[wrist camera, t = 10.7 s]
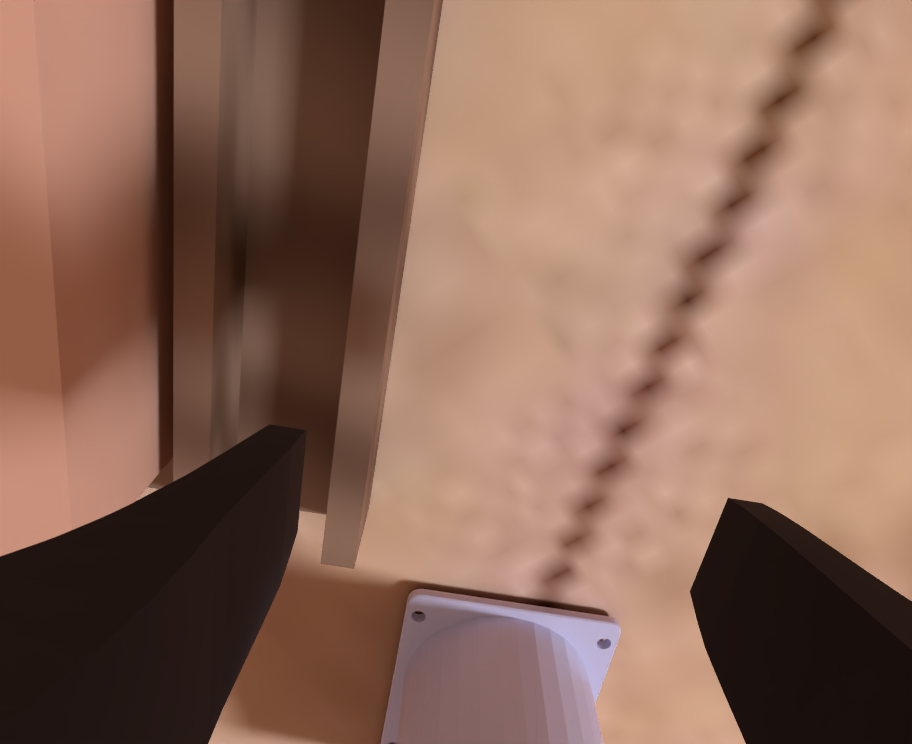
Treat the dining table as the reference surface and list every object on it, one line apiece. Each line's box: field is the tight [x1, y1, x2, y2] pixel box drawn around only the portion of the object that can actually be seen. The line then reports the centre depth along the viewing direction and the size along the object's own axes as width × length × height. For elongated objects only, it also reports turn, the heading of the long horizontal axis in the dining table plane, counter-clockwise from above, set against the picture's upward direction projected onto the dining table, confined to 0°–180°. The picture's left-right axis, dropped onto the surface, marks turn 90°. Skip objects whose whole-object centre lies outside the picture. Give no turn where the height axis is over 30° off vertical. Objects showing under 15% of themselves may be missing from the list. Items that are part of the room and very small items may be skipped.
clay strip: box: [0, 0, 174, 556], centre depth 14 cm, size 16×2×6 cm, turn 170°
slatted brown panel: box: [148, 0, 443, 569], centre depth 16 cm, size 20×14×3 cm
